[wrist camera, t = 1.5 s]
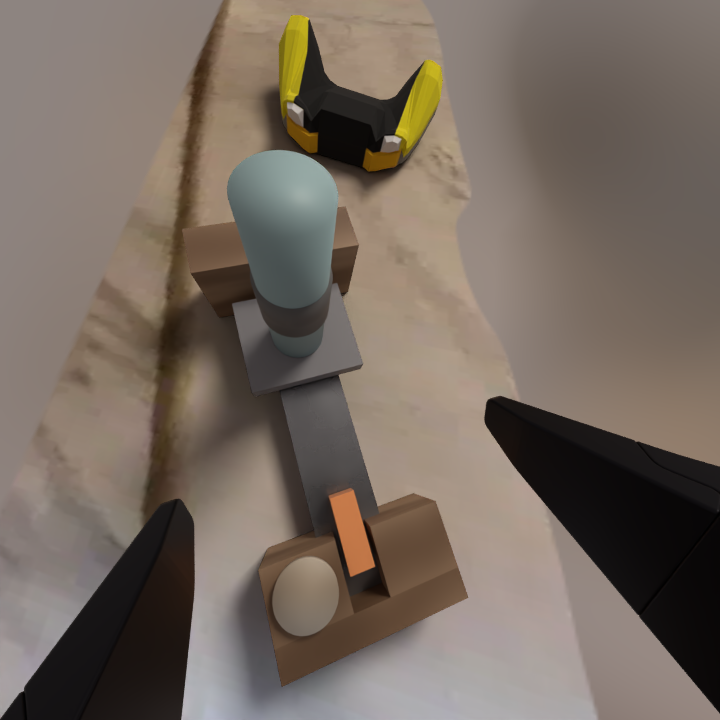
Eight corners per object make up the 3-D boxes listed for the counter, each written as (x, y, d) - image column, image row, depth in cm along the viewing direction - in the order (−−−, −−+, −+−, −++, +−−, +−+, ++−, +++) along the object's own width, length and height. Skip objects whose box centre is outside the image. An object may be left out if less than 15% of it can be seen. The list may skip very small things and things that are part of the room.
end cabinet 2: (439, 571, 21) (472, 601, 16) (287, 639, 18) (280, 694, 14) (413, 493, 22) (438, 502, 17) (268, 547, 19) (256, 573, 15)
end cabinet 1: (347, 291, 26) (358, 244, 20) (219, 317, 23) (190, 273, 18) (337, 260, 26) (345, 206, 21) (212, 282, 24) (182, 229, 18)
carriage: (360, 368, 21) (424, 257, 9) (255, 396, 20) (172, 305, 8) (335, 291, 23) (364, 109, 11) (236, 311, 21) (140, 124, 9)
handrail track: (392, 572, 20) (400, 585, 18) (332, 599, 19) (334, 614, 17) (305, 277, 25) (305, 263, 23) (255, 286, 24) (250, 272, 23)
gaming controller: (290, 74, 32) (259, 143, 29) (286, 0, 27) (248, 74, 24) (429, 120, 33) (414, 191, 30) (451, 57, 28) (436, 135, 25)
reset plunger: (370, 558, 18) (375, 566, 17) (347, 568, 18) (350, 577, 16) (350, 487, 19) (353, 490, 18) (328, 495, 19) (329, 498, 17)
